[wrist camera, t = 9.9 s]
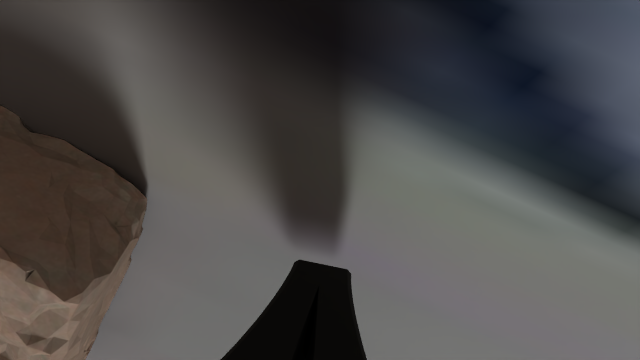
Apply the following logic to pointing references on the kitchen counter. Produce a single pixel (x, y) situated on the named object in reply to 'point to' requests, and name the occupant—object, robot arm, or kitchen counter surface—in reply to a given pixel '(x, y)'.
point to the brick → (59, 243)
